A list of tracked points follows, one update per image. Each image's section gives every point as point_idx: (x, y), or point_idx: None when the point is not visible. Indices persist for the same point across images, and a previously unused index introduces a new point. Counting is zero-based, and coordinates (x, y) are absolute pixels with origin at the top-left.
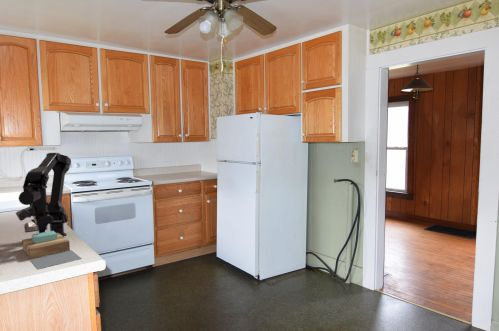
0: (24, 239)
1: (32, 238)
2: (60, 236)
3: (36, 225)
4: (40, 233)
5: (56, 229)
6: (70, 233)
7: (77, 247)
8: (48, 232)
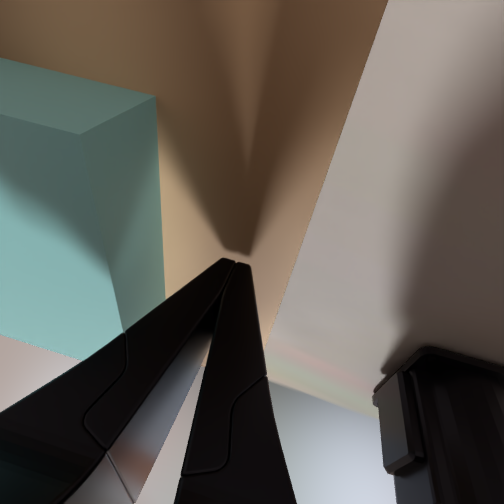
0: (373, 4)
1: (108, 101)
2: None
3: (239, 454)
4: (74, 260)
5: (404, 436)
6: None
7: None
8: (75, 325)
